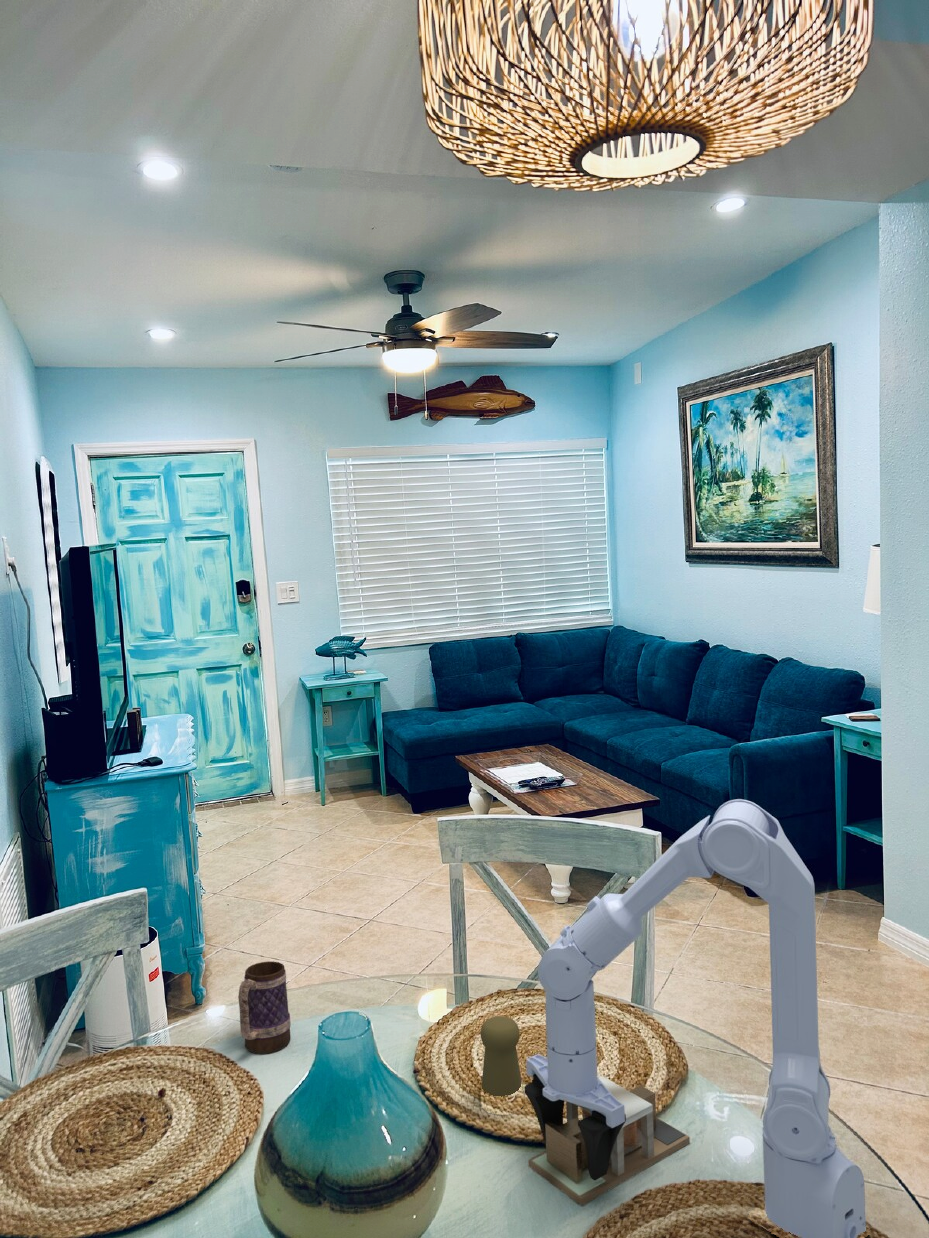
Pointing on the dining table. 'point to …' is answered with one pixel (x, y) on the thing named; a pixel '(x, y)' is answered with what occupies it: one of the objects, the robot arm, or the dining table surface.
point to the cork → (500, 1056)
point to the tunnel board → (616, 1149)
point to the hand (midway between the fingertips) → (575, 1159)
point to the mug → (264, 1008)
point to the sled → (570, 1147)
